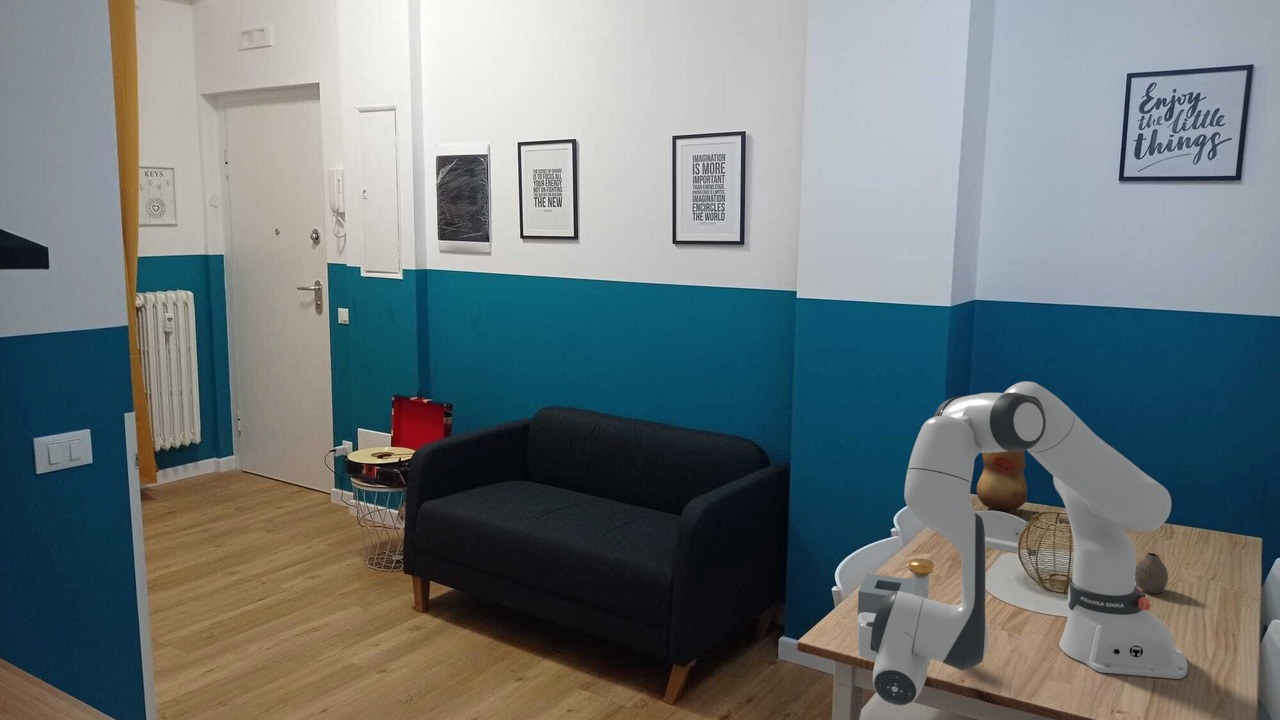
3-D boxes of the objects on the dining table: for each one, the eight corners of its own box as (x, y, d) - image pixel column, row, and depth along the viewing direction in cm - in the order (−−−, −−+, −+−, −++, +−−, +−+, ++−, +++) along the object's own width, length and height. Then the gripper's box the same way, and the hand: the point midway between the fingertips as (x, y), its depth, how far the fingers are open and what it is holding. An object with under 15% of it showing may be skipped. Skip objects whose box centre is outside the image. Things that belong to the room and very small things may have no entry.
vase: (1159, 599, 208) (1162, 562, 207) (1128, 589, 213) (1130, 553, 212) (1171, 590, 213) (1174, 554, 211) (1140, 582, 218) (1143, 546, 216)
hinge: (960, 542, 246) (966, 505, 247) (965, 543, 249) (971, 506, 251) (1025, 555, 236) (1031, 516, 237) (1030, 556, 239) (1035, 518, 241)
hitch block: (915, 605, 206) (916, 580, 205) (909, 625, 196) (910, 598, 196) (866, 597, 211) (866, 573, 210) (857, 617, 201) (858, 591, 200)
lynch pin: (931, 635, 192) (934, 560, 189) (929, 645, 187) (932, 568, 185) (908, 631, 194) (910, 557, 191) (905, 641, 189) (907, 565, 187)
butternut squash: (974, 515, 267) (978, 432, 264) (977, 502, 280) (980, 422, 276) (1025, 520, 262) (1030, 436, 258) (1026, 507, 274) (1030, 425, 270)
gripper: (967, 641, 163) (971, 610, 175) (851, 623, 171) (863, 594, 183) (965, 674, 164) (970, 640, 176) (850, 654, 172) (863, 624, 184)
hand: (915, 617), depth 180 cm, fingers open, 8 cm apart
